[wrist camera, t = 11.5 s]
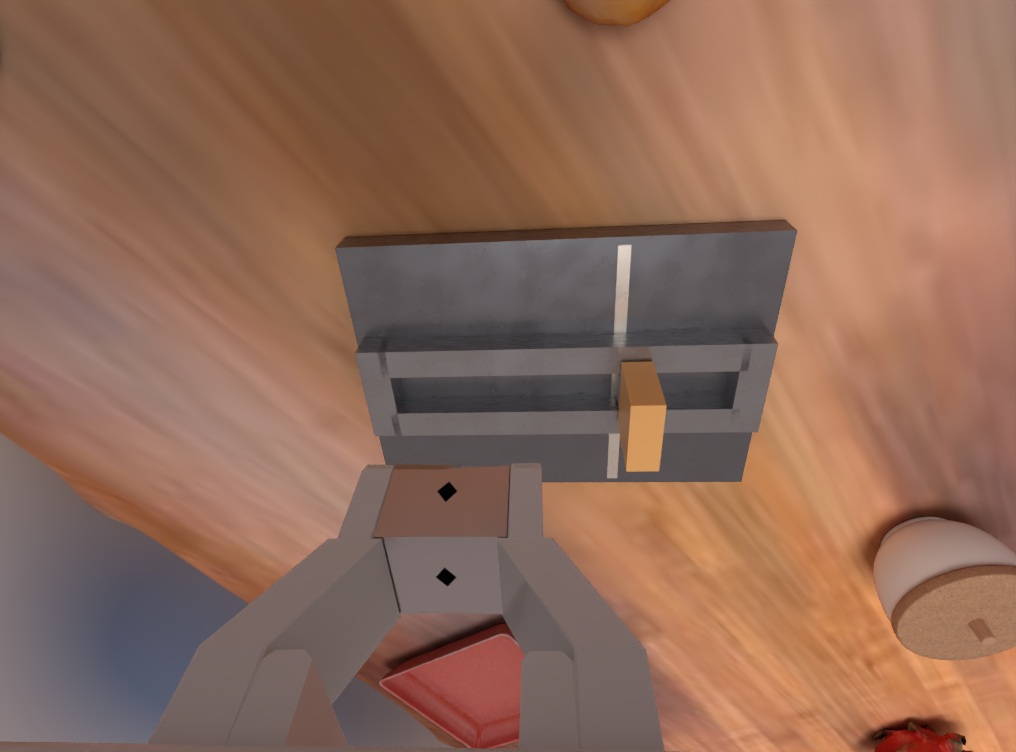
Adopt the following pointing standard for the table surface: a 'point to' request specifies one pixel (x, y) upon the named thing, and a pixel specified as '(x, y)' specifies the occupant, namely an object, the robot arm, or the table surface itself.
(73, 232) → the table surface
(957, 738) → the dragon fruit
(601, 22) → the fruit
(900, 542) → the lidded jar
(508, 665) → the plant saucer
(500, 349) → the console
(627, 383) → the block
